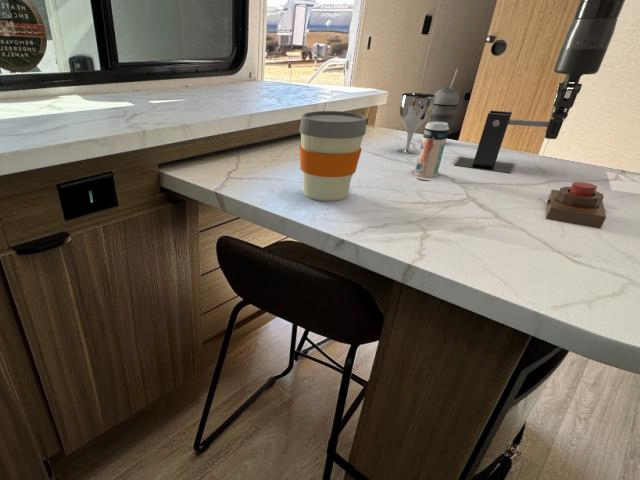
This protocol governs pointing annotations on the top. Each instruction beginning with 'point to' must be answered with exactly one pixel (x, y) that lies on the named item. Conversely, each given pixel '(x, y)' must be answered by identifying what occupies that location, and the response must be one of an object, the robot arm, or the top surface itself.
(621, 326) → the top surface
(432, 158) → the supplement bottle
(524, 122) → the lever
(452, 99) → the beverage cup
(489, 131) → the bracket
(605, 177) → the top surface
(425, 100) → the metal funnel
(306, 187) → the reusable coffee cup
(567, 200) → the button box
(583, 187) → the button
